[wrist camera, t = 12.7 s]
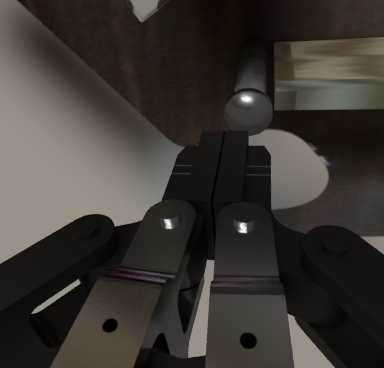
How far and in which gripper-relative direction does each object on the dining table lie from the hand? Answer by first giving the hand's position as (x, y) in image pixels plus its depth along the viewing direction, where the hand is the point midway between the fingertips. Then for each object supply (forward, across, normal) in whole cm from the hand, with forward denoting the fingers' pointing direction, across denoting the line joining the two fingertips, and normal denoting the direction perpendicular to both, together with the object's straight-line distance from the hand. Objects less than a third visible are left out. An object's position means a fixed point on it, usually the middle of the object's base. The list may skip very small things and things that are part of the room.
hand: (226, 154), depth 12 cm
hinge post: (+29, 0, +6) cm, 29 cm away
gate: (+29, -10, +6) cm, 31 cm away
